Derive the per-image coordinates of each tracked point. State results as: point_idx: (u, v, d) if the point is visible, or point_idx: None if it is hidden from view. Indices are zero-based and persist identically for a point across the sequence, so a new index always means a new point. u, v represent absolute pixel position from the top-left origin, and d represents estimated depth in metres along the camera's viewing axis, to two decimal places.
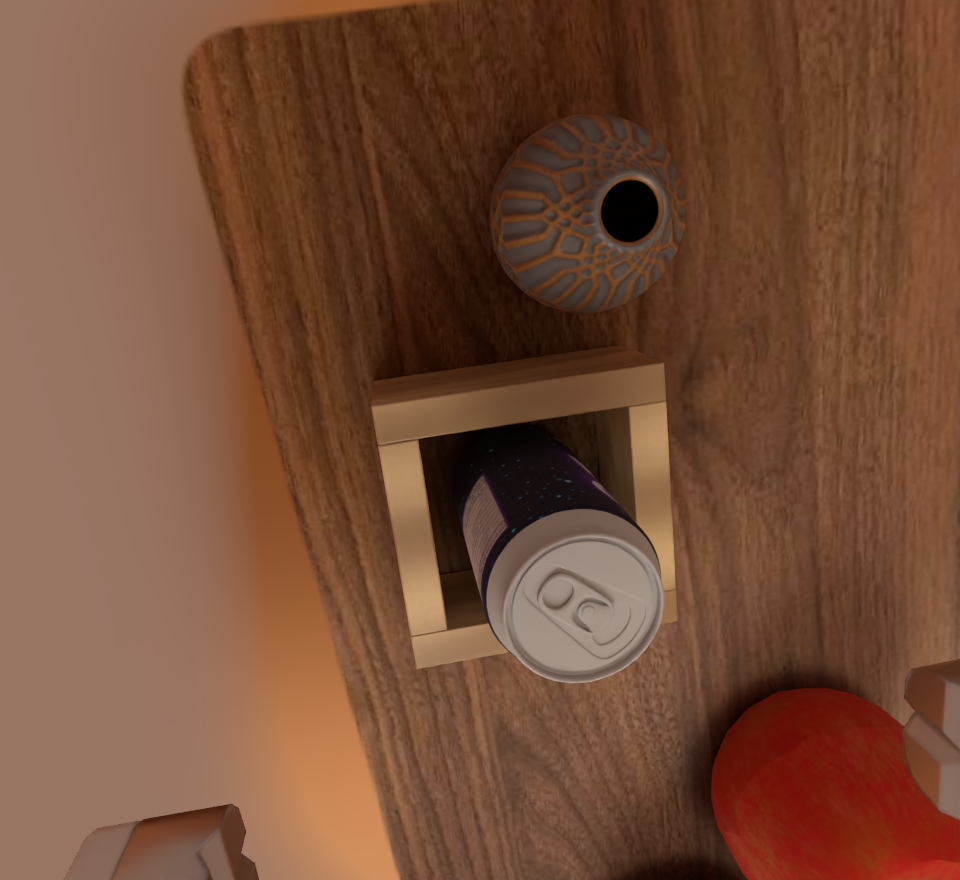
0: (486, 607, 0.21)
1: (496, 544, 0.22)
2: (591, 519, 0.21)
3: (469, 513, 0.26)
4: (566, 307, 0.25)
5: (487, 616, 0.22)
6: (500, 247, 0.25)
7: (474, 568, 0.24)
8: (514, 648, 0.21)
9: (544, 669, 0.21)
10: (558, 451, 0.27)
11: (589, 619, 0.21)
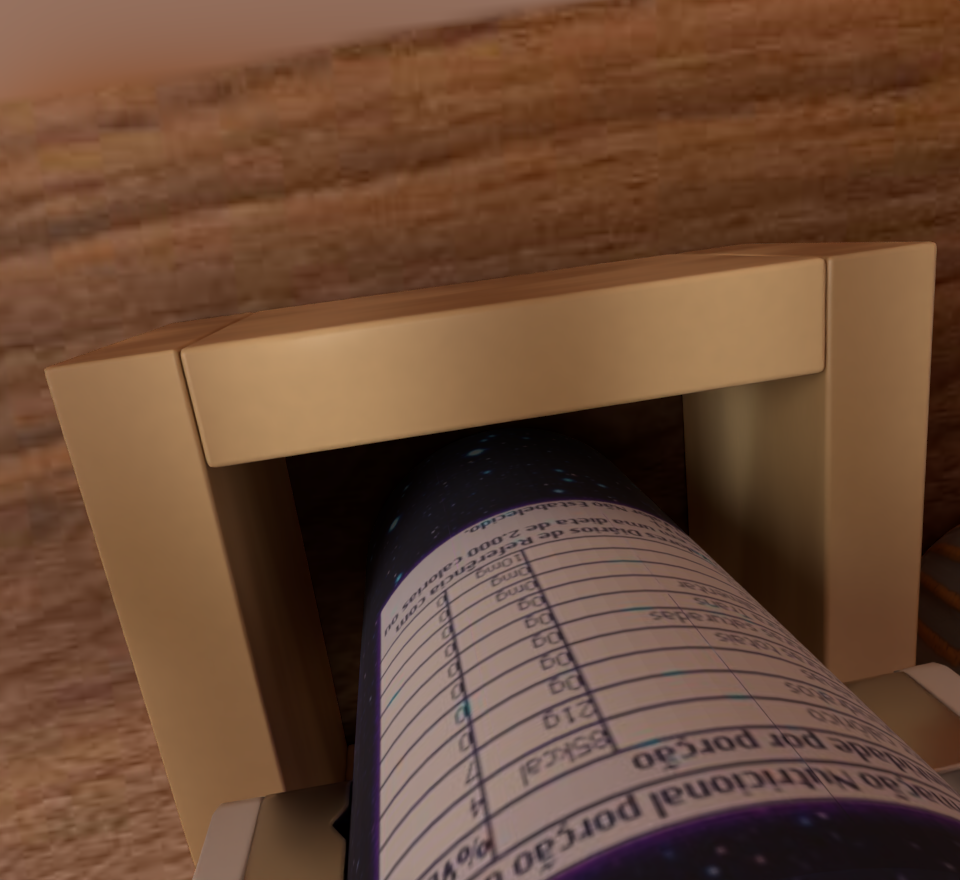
0: None
1: None
2: None
3: (653, 537, 0.08)
4: None
5: None
6: None
7: (652, 650, 0.06)
8: None
9: None
10: None
11: None
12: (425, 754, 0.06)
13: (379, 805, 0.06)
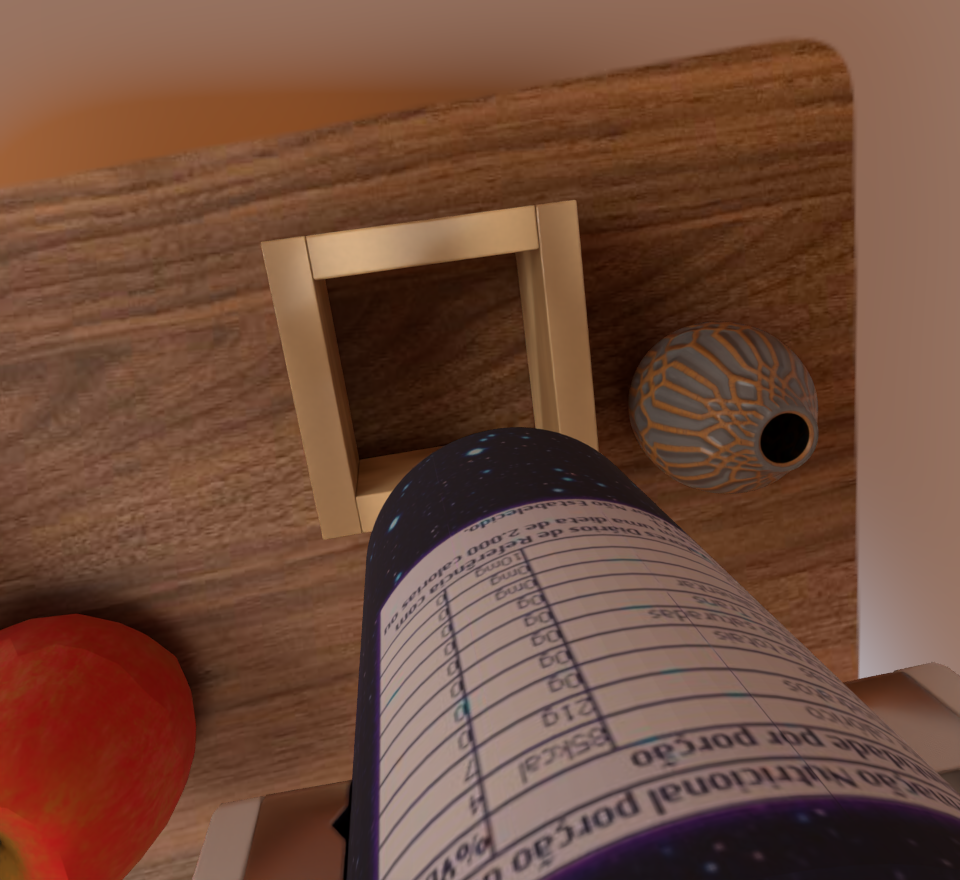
0: None
1: None
2: None
3: (652, 536, 0.09)
4: (658, 394, 0.27)
5: None
6: (707, 330, 0.27)
7: (650, 648, 0.06)
8: None
9: None
10: None
11: None
12: (423, 751, 0.06)
13: (378, 803, 0.06)
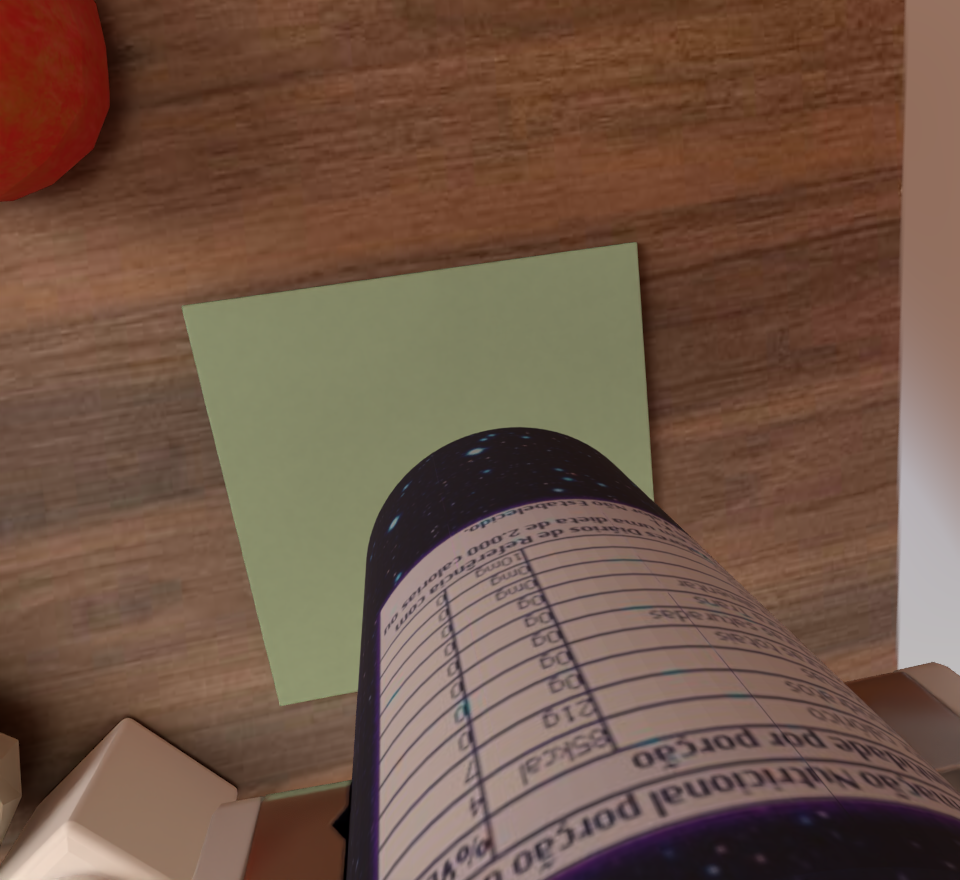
0: None
1: None
2: None
3: (653, 537, 0.08)
4: None
5: None
6: None
7: (651, 649, 0.06)
8: None
9: None
10: None
11: None
12: (424, 752, 0.06)
13: (378, 804, 0.06)
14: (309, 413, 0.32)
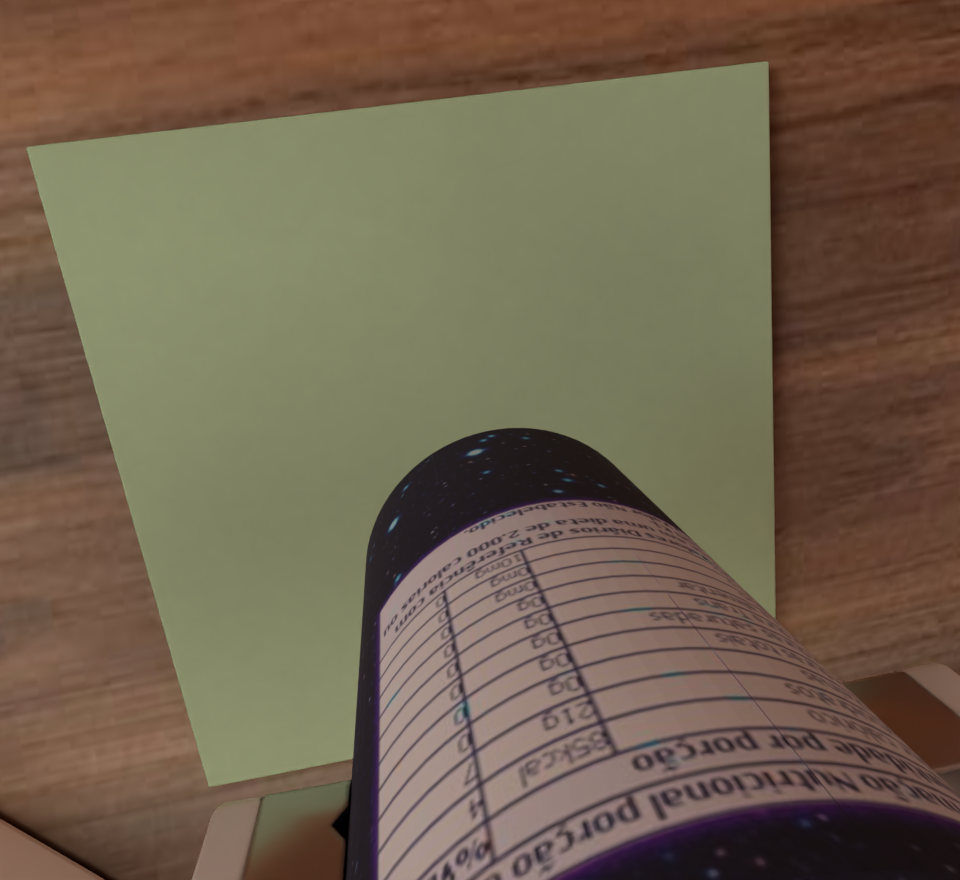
0: None
1: None
2: None
3: (652, 538, 0.08)
4: None
5: None
6: None
7: (651, 651, 0.06)
8: None
9: None
10: None
11: None
12: (423, 754, 0.06)
13: (378, 806, 0.06)
14: (245, 334, 0.20)
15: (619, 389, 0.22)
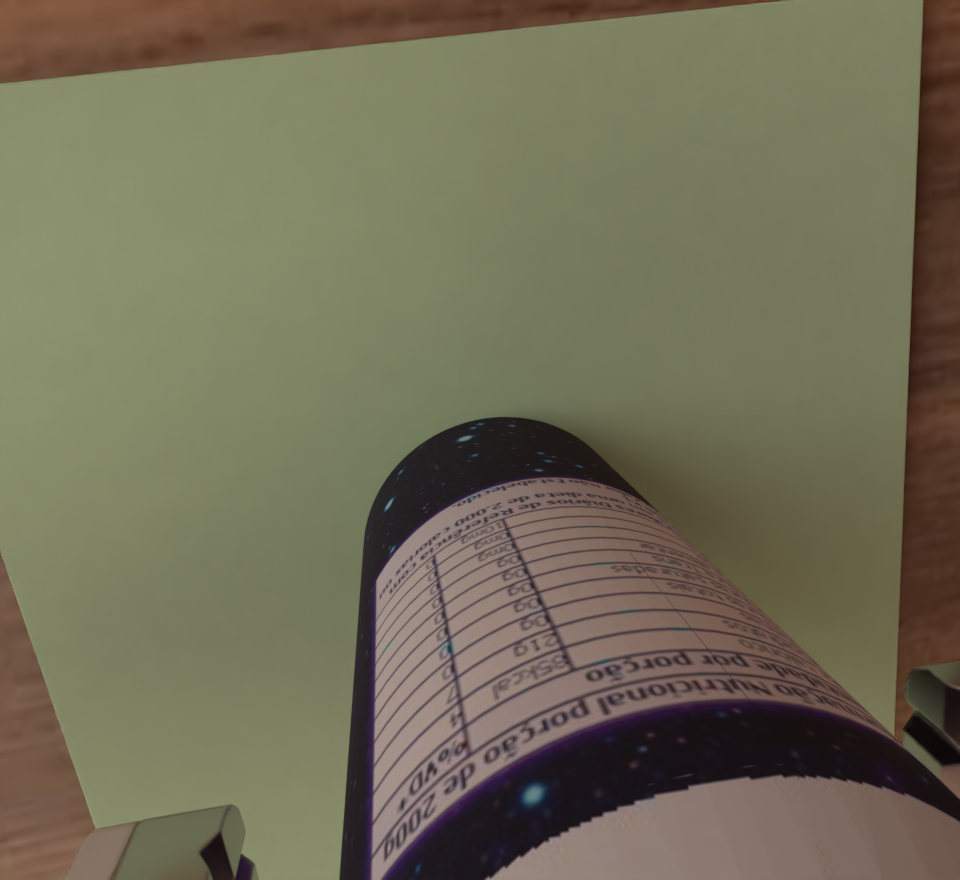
0: (694, 780, 0.05)
1: (898, 751, 0.05)
2: None
3: (622, 509, 0.09)
4: None
5: (641, 784, 0.05)
6: None
7: (609, 595, 0.07)
8: None
9: None
10: None
11: None
12: (413, 685, 0.07)
13: (373, 732, 0.07)
14: (180, 373, 0.14)
15: (701, 444, 0.16)
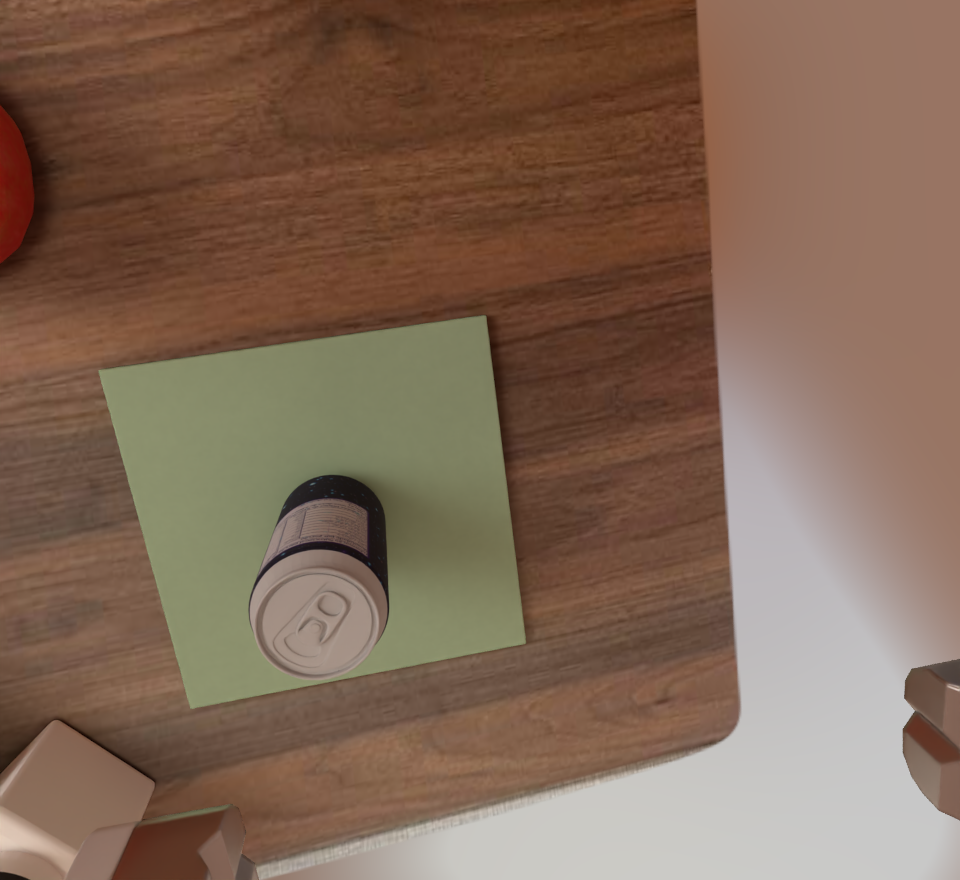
0: (307, 550, 0.28)
1: (355, 550, 0.29)
2: (383, 618, 0.29)
3: (342, 507, 0.33)
4: None
5: (298, 550, 0.28)
6: None
7: (316, 526, 0.30)
8: (285, 579, 0.27)
9: (263, 601, 0.27)
10: None
11: (307, 629, 0.28)
12: (272, 547, 0.30)
13: (264, 558, 0.31)
14: (210, 458, 0.37)
15: (417, 483, 0.39)
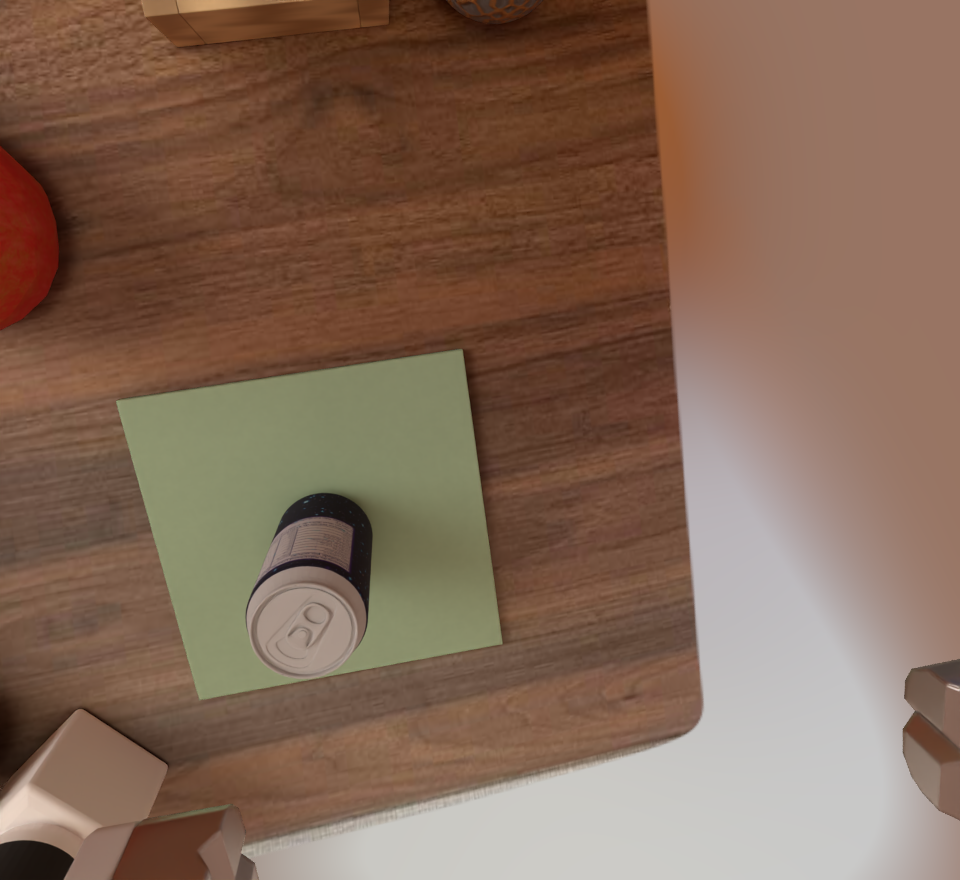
0: (295, 566, 0.32)
1: (338, 567, 0.33)
2: (362, 626, 0.33)
3: (330, 526, 0.37)
4: None
5: (288, 567, 0.32)
6: None
7: (305, 544, 0.35)
8: (276, 592, 0.31)
9: (257, 611, 0.32)
10: None
11: (295, 635, 0.32)
12: (267, 561, 0.35)
13: (260, 572, 0.35)
14: (215, 478, 0.42)
15: (402, 499, 0.44)
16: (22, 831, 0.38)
